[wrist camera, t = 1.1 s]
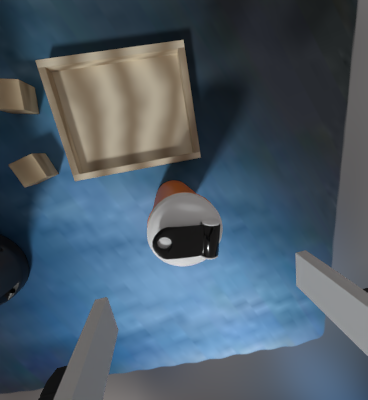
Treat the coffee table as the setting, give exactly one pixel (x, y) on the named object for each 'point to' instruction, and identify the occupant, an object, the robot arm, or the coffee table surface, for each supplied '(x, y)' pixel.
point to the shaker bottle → (183, 226)
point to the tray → (122, 108)
